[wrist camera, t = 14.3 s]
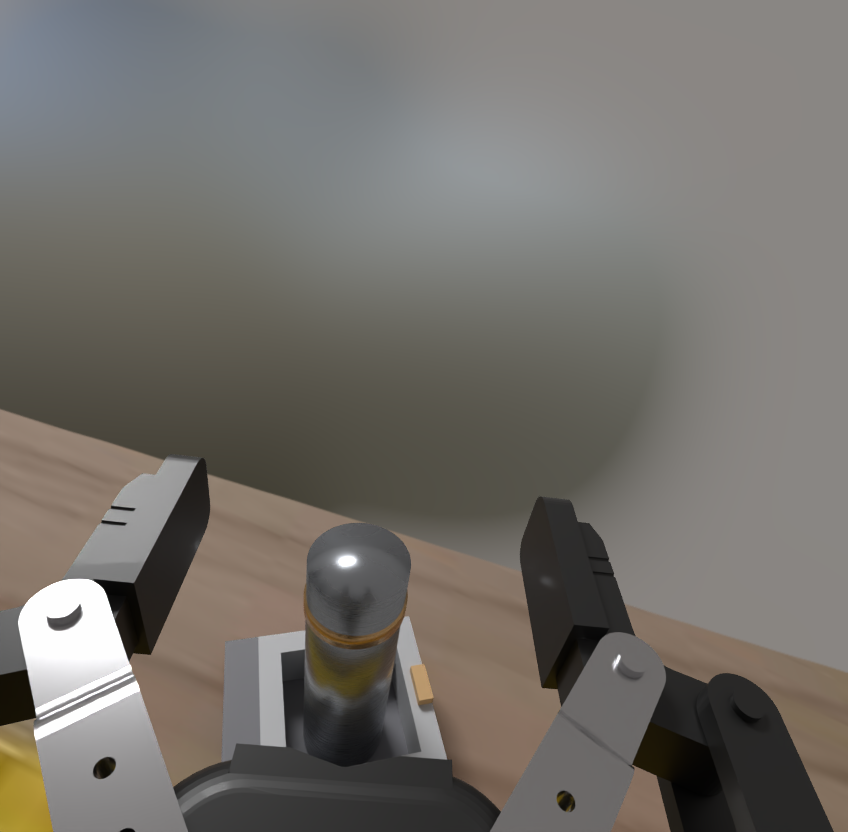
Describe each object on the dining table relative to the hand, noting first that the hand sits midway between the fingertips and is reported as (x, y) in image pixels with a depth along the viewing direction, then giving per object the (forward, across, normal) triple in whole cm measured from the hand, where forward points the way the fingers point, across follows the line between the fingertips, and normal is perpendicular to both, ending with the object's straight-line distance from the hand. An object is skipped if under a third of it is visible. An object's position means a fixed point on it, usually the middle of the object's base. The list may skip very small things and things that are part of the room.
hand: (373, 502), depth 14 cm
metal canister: (+6, 0, -23) cm, 24 cm away
